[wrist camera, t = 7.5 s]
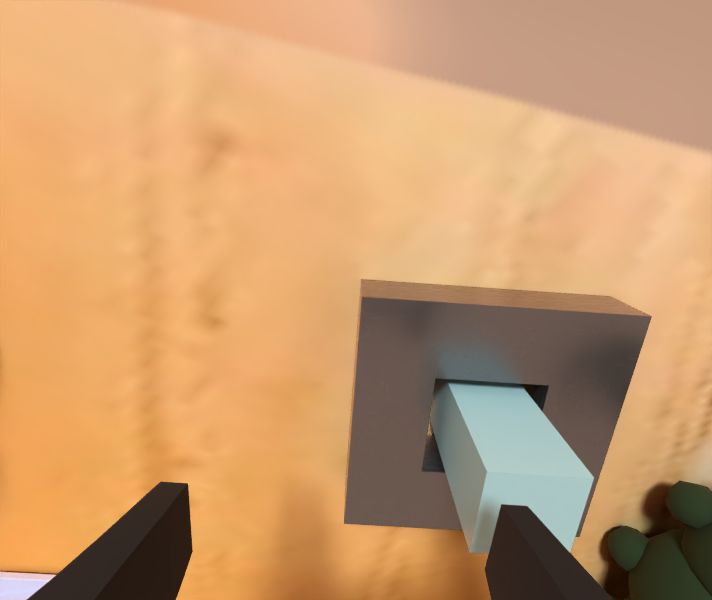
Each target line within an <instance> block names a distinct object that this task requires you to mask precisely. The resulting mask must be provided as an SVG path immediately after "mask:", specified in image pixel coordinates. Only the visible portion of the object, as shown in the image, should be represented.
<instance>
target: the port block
mask: <svg viewBox="0 0 712 600" xmlns="http://www.w3.org/2000/svg"><path fill="white" fill-rule="evenodd" d="M651 317H652V316H650V315H648V314H646V313H644V312H642V311H639V310H637V309H635V308H633V307H631V306H629V305H627V304H625V303H623V302H621V301H619V300H616V299H614V298H612V297H610V296H595V295H580V294H566V293H551V292H537V291H522V290H508V289H493V288H479V287H464V286H450V285H435V284H421V283H406V282H392V281H377V280H362V279H361V288H360V301H359V314H358V327H357V340H356V353H355V366H354V379H353V392H352V405H351V418H350V431H349V444H348V457H347V470H346V483H345V510H344V524H360V525H377V526H395V527H413V528H430V529H448V530H463V529H462V526H461V523H460V519H459V516H458V513H457V509H456V506H455V502H454V499H453V496H452V492H451V489H450V486H449V482H448V479H447V476H446V472H445V469H444V466H443V462H442V459H441V456H440V452H439V449H438V446H437V442H436V439H435V436H427V432H428V425H429V418H430V412H431V405H432V398H433V392H434V385H435V379H436V378H440V379H456V380H472V381H487V382H503V383H518V384H521V385H522V387H523V388H524V389H525V390H526V392H527V393H528V394H529V396H530V397H531V398H532V399H533V401H534V402H535V403H536V404H537V406H538V407H539V408H540V410H541V411H542V412H543V413H544V415H545V416H546V417H547V418H548V420H549V421H550V422H551V424H552V425H553V426H554V427H555V429H556V430H557V431H558V432H559V434H560V435H561V436H562V438H563V439H564V440H565V441H566V443H567V444H568V445H569V446H570V448H571V449H572V450H573V452H574V453H575V454H576V455H577V457H578V458H579V459H580V460H581V462H582V463H583V464H584V466H585V467H586V468H587V469H588V471H589V472H590V473H591V474H592V476H593V477H594V480H593V483H592V486H591V489H590V492H589V495H588V499H587V502H586V505H585V508H584V511H583V514H582V517H581V520H580V523H579V527H578V530H577V533H576V536H575V537H579V536H580V533H581V530H582V527H583V524H584V521H585V518H586V515H587V512H588V509H589V506H590V503H591V500H592V497H593V494H594V491H595V488H596V485H597V482H598V478H599V475H600V472H601V469H602V466H603V463H604V460H605V457H606V454H607V451H608V448H609V445H610V442H611V439H612V436H613V433H614V430H615V427H616V424H617V421H618V418H619V415H620V412H621V408H622V405H623V402H624V399H625V396H626V393H627V390H628V387H629V384H630V381H631V378H632V375H633V372H634V369H635V366H636V363H637V360H638V357H639V354H640V351H641V348H642V345H643V342H644V339H645V335H646V332H647V329H648V326H649V323H650V320H651Z"/></svg>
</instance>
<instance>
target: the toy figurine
mask: <svg viewBox="0 0 712 600" xmlns="http://www.w3.org/2000/svg"><path fill="white" fill-rule="evenodd" d="M665 503H666V505H667V507H668V508H669V510H670V511H671V513H672V514H673V516H674V517H675V519H676V520H677V521H678V522H680V523H682V524H684V525H687V527H686V529H685V530H671V531H667V532H664V533H661V534H659V535H656V536H653V537H650V538H647V537H646V536H644V535H643V534H642V533H641V532H639V531H638V530H636V529H634V528H631V527H628V526H624V527H620V528H617V529H615V530H613V531H611V532H610V533H609V535H608V540H607V544H608V551H609V554H610V555H611V556H612V558H613V559H614V560H615V561H616V562H617V563H618V564H619V566H621V567H622V568H623V569H624V570H626V571H627V572H630V573H629V592H630V596H629V597H627V598H625V599H624V600H712V491H711V490H710V489H709V488H708V487H705V486H701V485H697V484H693V483H688V482H684V481H679V482H677V483H676V484H675V485H673V486H672V487H671V488H669V489H668V491H667V496H666V502H665ZM608 595H609V594H608ZM609 596H610V597H611V598H612V599H613V600H616V599H615V598H614V597H613V596H611V595H609Z"/></svg>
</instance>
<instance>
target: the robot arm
mask: <svg viewBox="0 0 712 600" xmlns="http://www.w3.org/2000/svg"><path fill="white" fill-rule="evenodd" d="M191 554H192V537H191V522H190V507H189V492H188V484H187V483H172V482H160V483H159V484H158V485H156V486H155V487H154V488H153V489H152V490H151V491H150V492H149V493H148V494H146V495H145V496H144V497H143V498H142V499H141V500H140V501H139V502H138V503H137V504H135V505H134V506H133V507H132V508H131V509H130V510H129V511H128V512H127V513H126V514H125V515H123V516H122V517H121V518H120V519H119V520H118V521H117V522H116V523H115V524H114V525H112V526H111V527H110V528H109V529H108V530H107V531H106V532H105V533H104V534H103V535H101V536H100V537H99V538H98V539H97V540H96V541H95V542H94V543H92V544H91V545H90V546H89V547H88V548H87V549H86V550H84V551H83V552H82V553H81V554H80V555H79V556H78V557H76V558H75V559H74V560H73V561H72V562H71V563H70V564H68V565H67V566H66V567H65V568H64V569H63V570H62V571H60V572H59V573H58V574H57V575H54V574H35V573H16V572H0V600H176V597H177V595H178V592H179V589H180V586H181V583H182V581H183V578H184V575H185V572H186V569H187V566H188V563H189V560H190V557H191ZM485 572H486V577H487V581H488V586H489V591H490V595H491V600H613V599H612V598H611V597H610V596H609V595H608V593H607V592H606V591H605V590H604V589H603V588H602V587H601V586H600V585H599V584H598V583H597V582H596V581H595V580H594V579H593V577H592V576H591V575H590V574H589V573H588V572H587V571H586V570H585V569H584V568H583V567H582V566H581V564H580V563H579V562H578V561H577V560H576V559H575V558H574V557H573V556H572V555H571V553H570V552H569V551H568V550H567V549H566V548H565V547H564V546H563V545H562V543H561V542H560V541H559V540H558V539H557V538H556V537H555V536H554V535H553V533H552V532H551V531H550V530H549V529H548V528H547V527H546V526H545V525H544V524H543V522H542V521H541V520H540V519H539V518H538V517H537V516H536V515H535V514H534V513H533V511H532V510H531V509H530V508H529V507H528V506H521V505H506V504H501V507H500V511H499V515H498V519H497V523H496V527H495V531H494V535H493V539H492V543H491V547H490V551H489V555H488V559H487V563H486V567H485Z"/></svg>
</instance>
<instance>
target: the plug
mask: <svg viewBox="0 0 712 600" xmlns="http://www.w3.org/2000/svg"><path fill="white" fill-rule="evenodd" d="M430 422H431V426H432V429H433V432H434V436H435V439H436V442H437V446H438V449H439V452H440V456H441V459H442V462H443V466H444V469H445V472H446V476H447V479H448V482H449V486H450V489H451V492H452V496H453V499H454V502H455V506H456V509H457V513H458V516H459V519H460V523H461V526H462V529H463V533H464V536H465V539H466V543H467V546H468V549H469V553H482V554H489V551H490V547H491V543H492V539H493V535H494V531H495V527H496V523H497V519H498V515H499V511H500V507H501V504H506V505H521V506H528V507H529V508H530V509H531V510H532V511H533V513H534V514H535V515H536V516H537V517H538V518H539V519H540V520H541V521H542V522H543V524H544V525H545V526H546V527H547V528H548V529H549V530H550V531H551V532H552V533H553V535H554V536H555V537H556V538H557V539H558V540H559V541H560V542H561V543H562V545H563V546H564V547H565V548H566V549H567V550H568V551H569V552H570V551H571V548H572V545H573V542H574V539H575V536H576V533H577V530H578V527H579V523H580V520H581V517H582V514H583V511H584V508H585V505H586V502H587V499H588V495H589V492H590V489H591V486H592V483H593V480H594V477H593V476H592V474H591V473H590V472H589V471H588V469H587V468H586V467H585V466H584V464H583V463H582V462H581V460H580V459H579V458H578V457H577V455H576V454H575V453H574V452H573V450H572V449H571V448H570V446H569V445H568V444H567V443H566V441H565V440H564V439H563V438H562V436H561V435H560V434H559V432H558V431H557V430H556V429H555V427H554V426H553V425H552V424H551V422H550V421H549V420H548V418H547V417H546V416H545V415H544V413H543V412H542V411H541V410H540V408H539V407H538V406H537V404H536V403H535V402H534V401H533V399H532V398H531V397H530V396H529V394H528V393H527V392H526V390H525V389H524V388H523V387H522V385H521V384H518V383H503V382H487V381H472V380H456V379H440V378H436V383H435V390H434V396H433V403H432V410H431V416H430Z"/></svg>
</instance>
